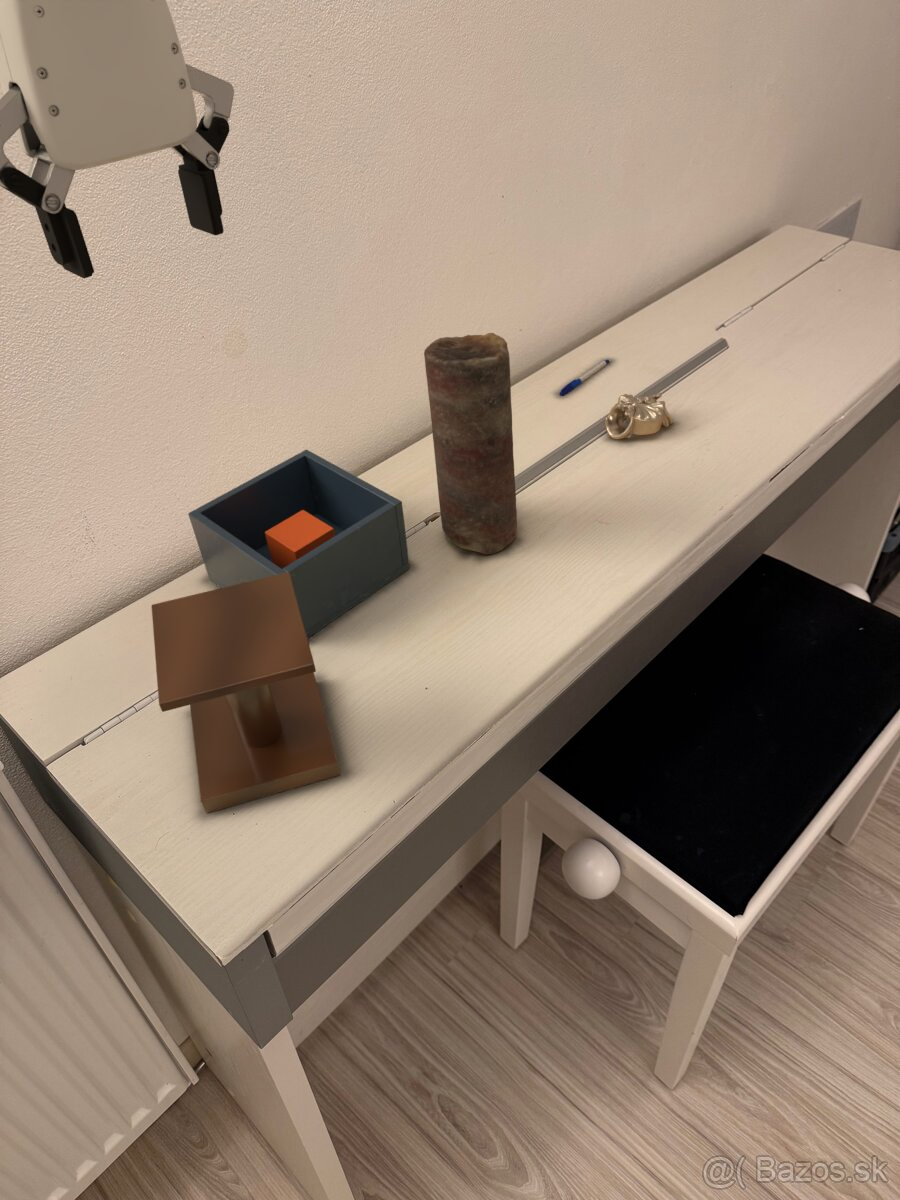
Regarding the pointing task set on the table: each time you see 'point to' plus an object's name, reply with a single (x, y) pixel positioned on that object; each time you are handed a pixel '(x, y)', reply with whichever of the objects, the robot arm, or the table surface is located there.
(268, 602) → the serving stand
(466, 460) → the brown textured cylinder
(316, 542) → the orange block
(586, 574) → the table surface
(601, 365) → the ballpoint pen
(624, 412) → the ornament
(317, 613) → the blue open crate
